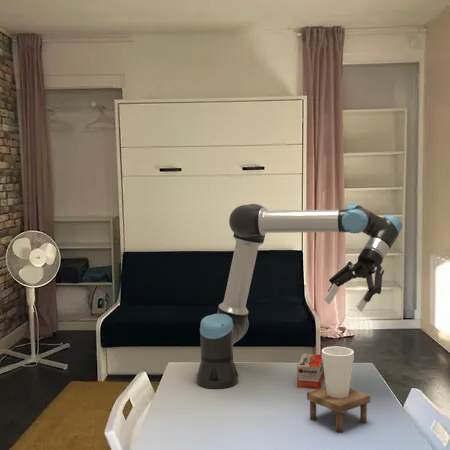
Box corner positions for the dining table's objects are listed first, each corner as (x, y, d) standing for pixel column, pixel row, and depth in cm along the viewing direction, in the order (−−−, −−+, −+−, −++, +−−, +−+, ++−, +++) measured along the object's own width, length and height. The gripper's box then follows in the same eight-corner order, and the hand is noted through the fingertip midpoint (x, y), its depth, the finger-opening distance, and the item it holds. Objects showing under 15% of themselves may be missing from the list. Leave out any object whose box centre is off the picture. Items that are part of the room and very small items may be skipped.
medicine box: (302, 373, 203) (302, 352, 202) (324, 375, 201) (324, 354, 200) (296, 388, 188) (296, 365, 188) (320, 390, 186) (320, 367, 186)
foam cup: (354, 401, 155) (354, 356, 154) (321, 399, 157) (321, 355, 156) (353, 389, 165) (353, 347, 164) (322, 387, 166) (322, 345, 166)
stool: (307, 418, 163) (306, 392, 162) (337, 407, 170) (336, 383, 170) (339, 434, 152) (339, 406, 152) (369, 422, 160) (369, 395, 159)
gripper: (409, 265, 172) (379, 319, 165) (350, 258, 193) (320, 305, 185) (399, 250, 169) (367, 304, 161) (339, 244, 189) (308, 292, 182)
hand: (342, 305), depth 173 cm, fingers open, 13 cm apart
